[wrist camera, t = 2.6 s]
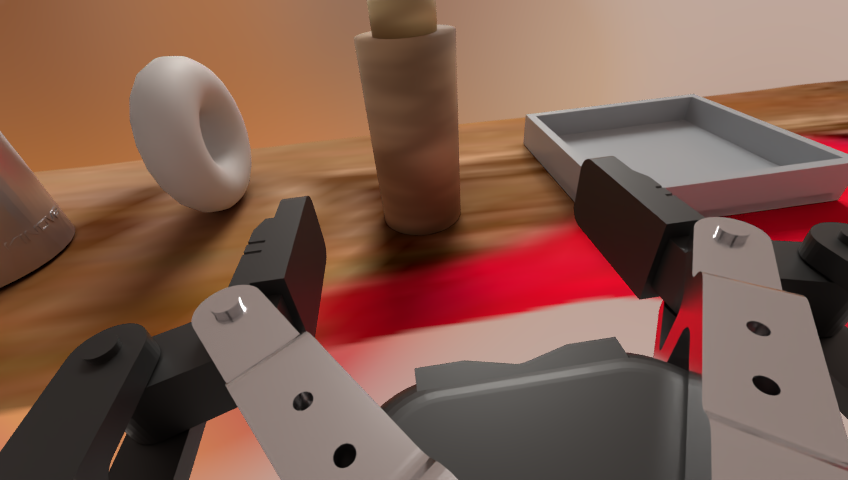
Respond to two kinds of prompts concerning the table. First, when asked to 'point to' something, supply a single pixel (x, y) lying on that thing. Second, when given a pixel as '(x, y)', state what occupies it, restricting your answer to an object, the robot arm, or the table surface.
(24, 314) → the table surface
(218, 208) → the donut
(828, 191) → the tray
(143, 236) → the table surface
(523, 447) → the robot arm
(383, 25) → the pepper mill
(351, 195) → the table surface
